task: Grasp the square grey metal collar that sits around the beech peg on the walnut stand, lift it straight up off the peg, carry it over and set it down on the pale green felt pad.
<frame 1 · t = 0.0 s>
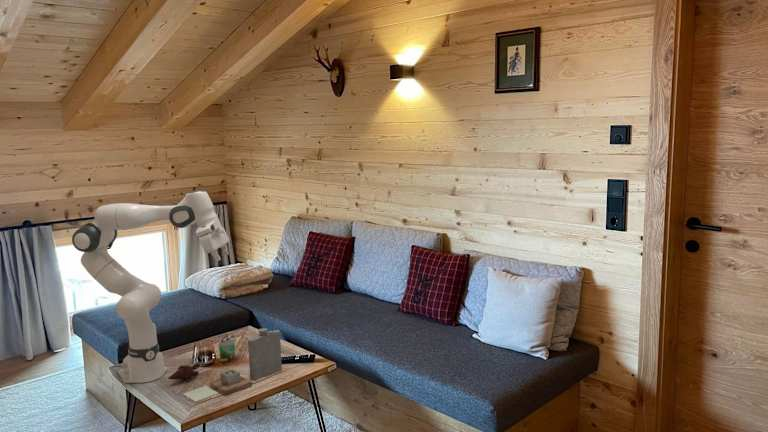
hand: (222, 258, 249), 52 cm above the table, tool tilted 20°, fingers open, 8 cm apart
hip flask: (265, 374, 260), on the table
pad: (200, 394, 242), on the table
icecream: (185, 381, 255), on the table
food container: (230, 359, 278), on the table
peg stand: (231, 386, 248), on the table
collar: (230, 382, 248), point 2 cm above the table, touching peg stand
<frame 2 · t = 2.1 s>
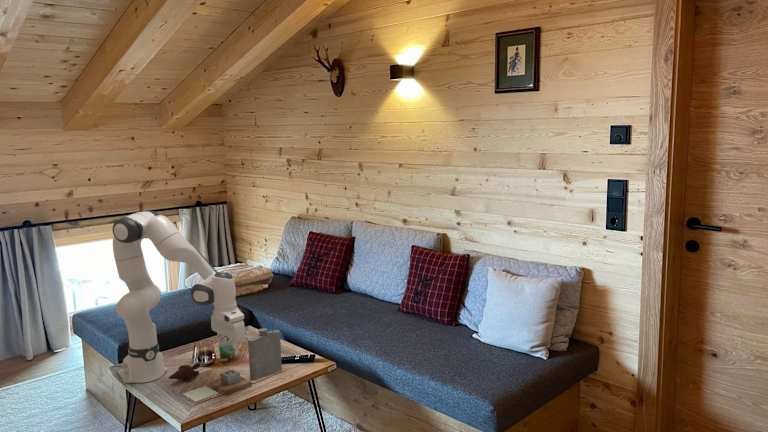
hand: (228, 345, 245), 18 cm above the table, tool pointing down, fingers open, 8 cm apart
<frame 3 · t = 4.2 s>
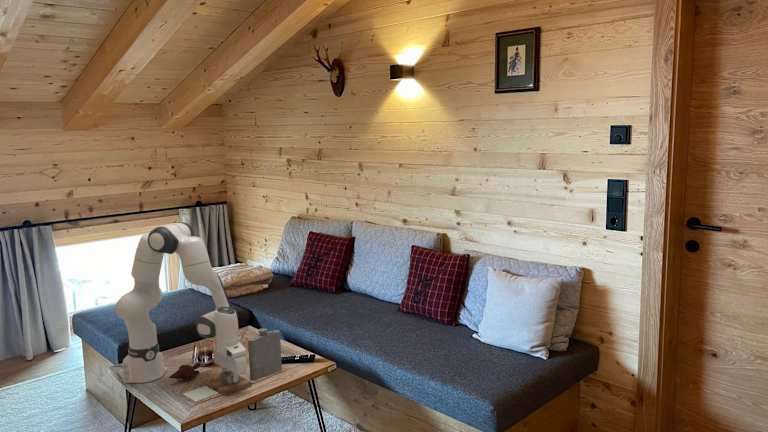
hand: (230, 378, 248), 3 cm above the table, tool pointing down, fingers closed on collar, 6 cm apart
collar: (230, 382, 248), point 2 cm above the table, touching gripper, peg stand
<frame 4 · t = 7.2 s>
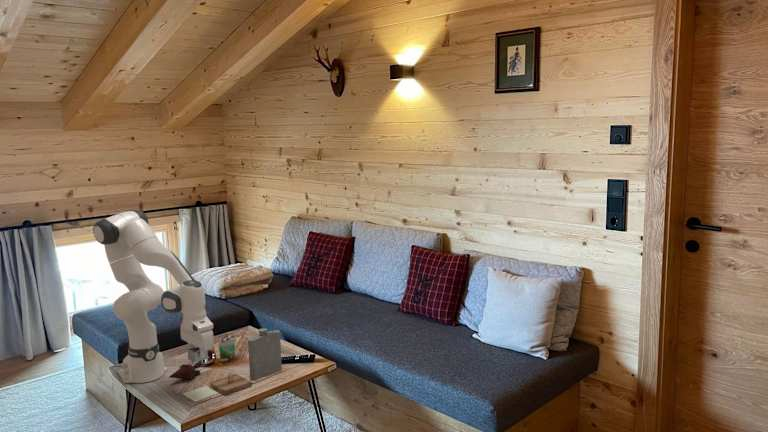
hand: (197, 355, 239), 16 cm above the table, tool pointing down, fingers closed on collar, 6 cm apart
collar: (198, 358, 239), point 15 cm above the table, touching gripper
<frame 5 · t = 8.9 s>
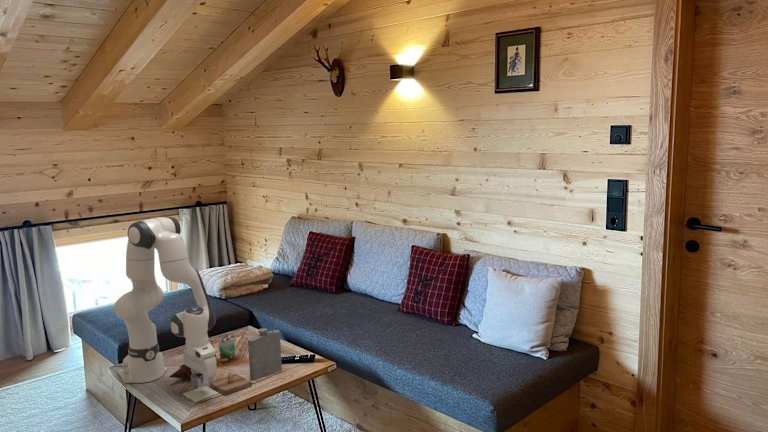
hand: (200, 380, 241), 6 cm above the table, tool pointing down, fingers closed on collar, 6 cm apart
collar: (201, 384, 241), point 4 cm above the table, touching gripper
when the fingers open (3 cm above the table, at t = 10.3 s): collar drops 1 cm, resting on pad.
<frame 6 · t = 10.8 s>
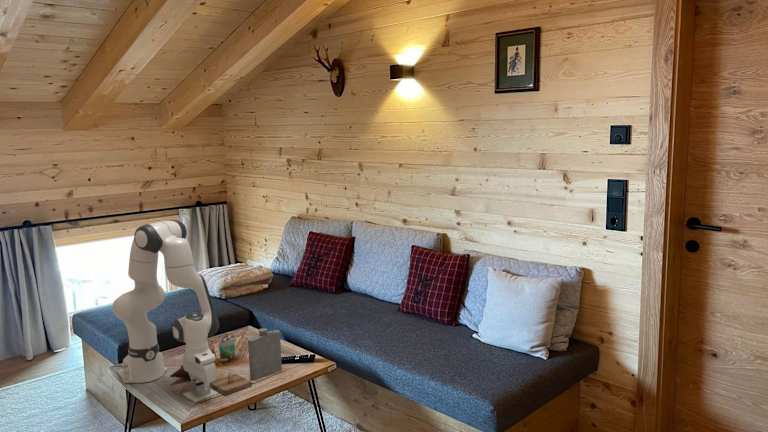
hand: (200, 386, 241), 3 cm above the table, tool pointing down, fingers open, 8 cm apart
collar: (200, 393, 242), resting on pad
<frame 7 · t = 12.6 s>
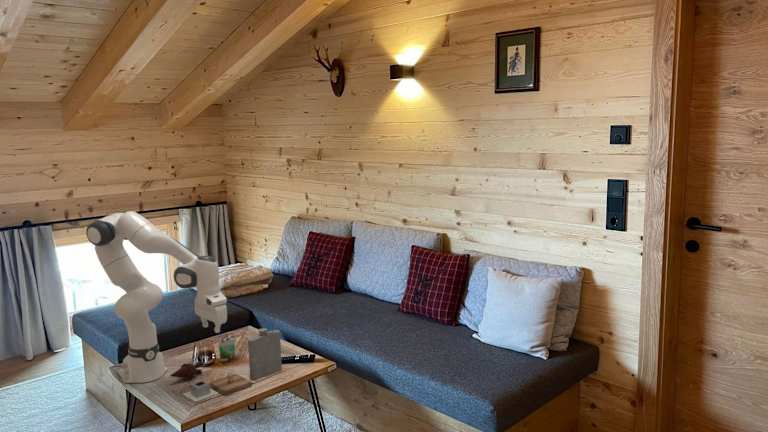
hand: (211, 329, 243), 25 cm above the table, tool pointing down, fingers open, 8 cm apart
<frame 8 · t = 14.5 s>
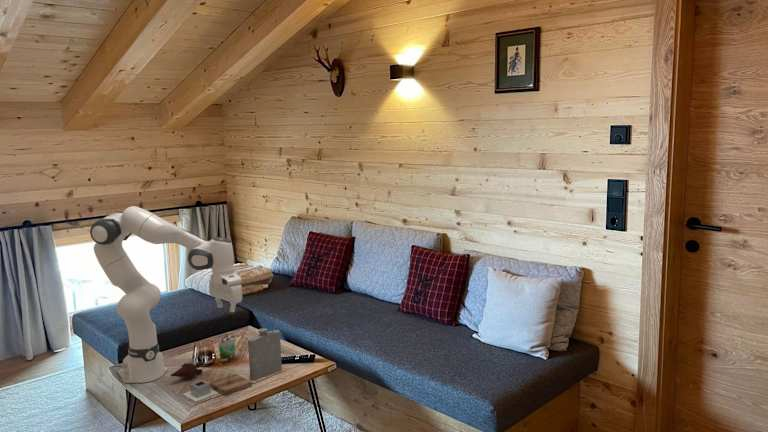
hand: (226, 309, 249), 31 cm above the table, tool pointing down, fingers open, 8 cm apart
at the end: collar inside the target area on the pad (0.1 cm from its centre), point 0.4 cm above the pad's base; collar touching pad; the gripper is holding nothing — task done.
